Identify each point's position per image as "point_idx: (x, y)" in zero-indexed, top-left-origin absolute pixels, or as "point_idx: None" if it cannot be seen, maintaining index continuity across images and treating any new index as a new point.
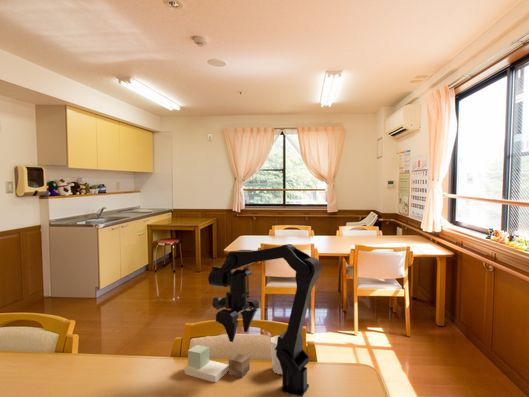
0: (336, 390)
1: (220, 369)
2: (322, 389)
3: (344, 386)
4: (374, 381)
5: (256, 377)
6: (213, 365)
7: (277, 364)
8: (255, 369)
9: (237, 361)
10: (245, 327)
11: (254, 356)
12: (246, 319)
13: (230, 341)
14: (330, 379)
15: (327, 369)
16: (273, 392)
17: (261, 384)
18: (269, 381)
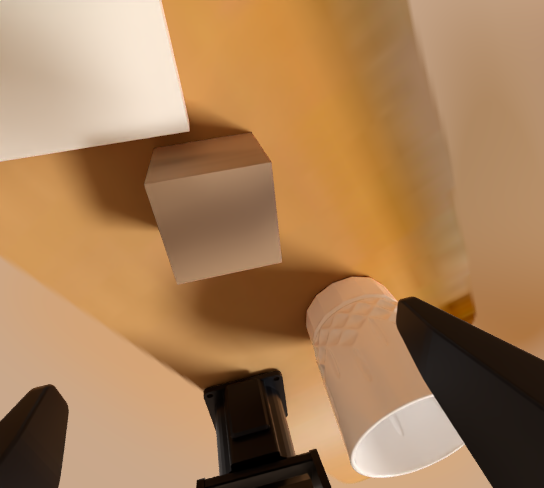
0: (305, 448)
1: (90, 123)
2: (291, 432)
3: (334, 447)
4: None
5: (231, 276)
6: (87, 16)
7: (316, 351)
8: (294, 227)
9: (167, 254)
10: (429, 356)
11: (429, 127)
12: (533, 476)
13: (39, 393)
14: None
15: None
16: (180, 375)
17: (196, 322)
18: (237, 327)
